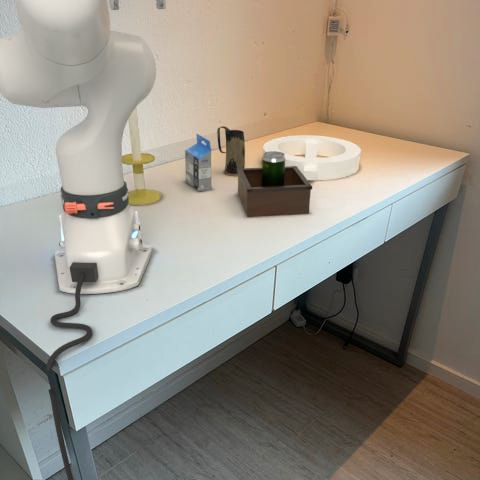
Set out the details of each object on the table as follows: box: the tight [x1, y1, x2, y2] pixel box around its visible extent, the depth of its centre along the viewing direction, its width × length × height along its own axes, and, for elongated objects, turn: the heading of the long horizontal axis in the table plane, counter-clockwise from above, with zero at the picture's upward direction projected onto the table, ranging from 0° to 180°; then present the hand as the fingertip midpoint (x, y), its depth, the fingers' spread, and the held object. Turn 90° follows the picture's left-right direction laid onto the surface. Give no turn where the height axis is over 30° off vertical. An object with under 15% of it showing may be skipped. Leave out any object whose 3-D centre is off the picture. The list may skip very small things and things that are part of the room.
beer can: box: [261, 151, 285, 187], centre depth 124 cm, size 5×5×12 cm
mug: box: [216, 126, 246, 177], centre depth 144 cm, size 8×6×12 cm
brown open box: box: [237, 166, 313, 218], centre depth 125 cm, size 15×15×7 cm
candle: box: [122, 107, 162, 206], centre depth 123 cm, size 10×10×27 cm
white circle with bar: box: [262, 134, 362, 181], centre depth 152 cm, size 28×28×5 cm
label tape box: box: [184, 133, 212, 192], centre depth 135 cm, size 9×4×12 cm, turn 28°
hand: (138, 9), depth 104 cm, fingers open, 8 cm apart
